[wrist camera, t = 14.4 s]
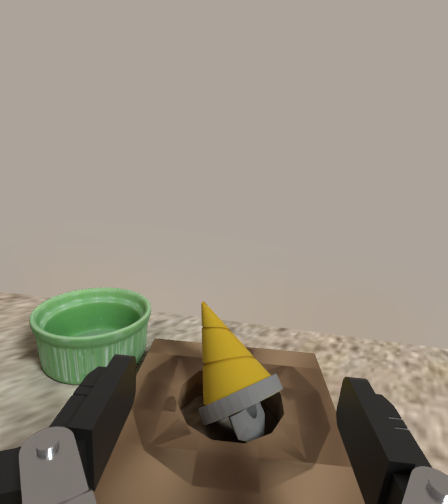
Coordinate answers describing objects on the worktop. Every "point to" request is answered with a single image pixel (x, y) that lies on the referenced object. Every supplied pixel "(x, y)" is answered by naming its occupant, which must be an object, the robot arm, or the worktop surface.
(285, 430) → the socket board
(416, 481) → the robot arm
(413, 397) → the worktop surface
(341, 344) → the worktop surface
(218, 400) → the drill bit
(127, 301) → the ramekin
